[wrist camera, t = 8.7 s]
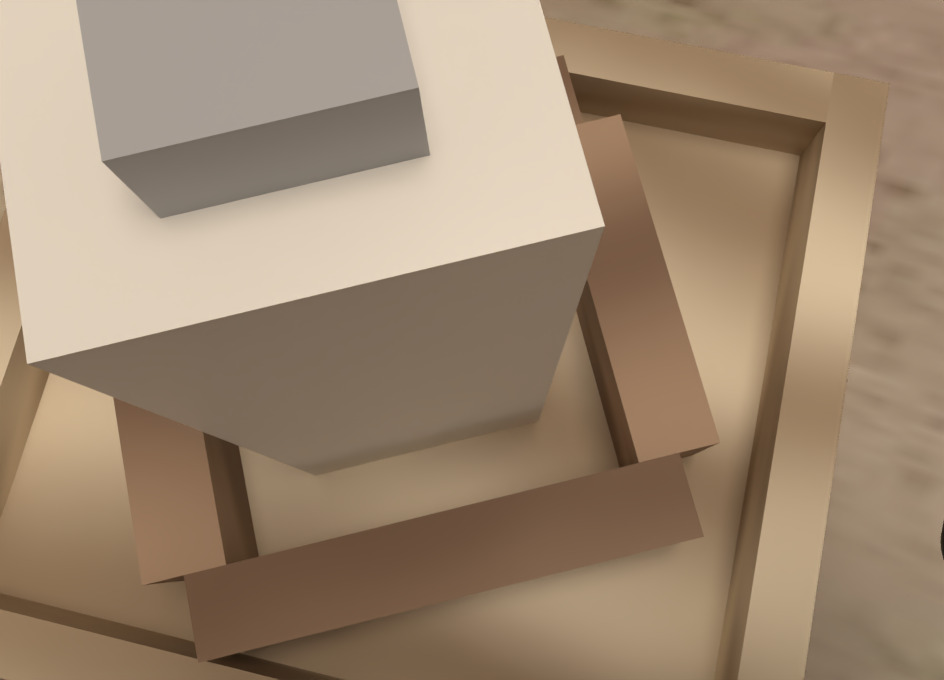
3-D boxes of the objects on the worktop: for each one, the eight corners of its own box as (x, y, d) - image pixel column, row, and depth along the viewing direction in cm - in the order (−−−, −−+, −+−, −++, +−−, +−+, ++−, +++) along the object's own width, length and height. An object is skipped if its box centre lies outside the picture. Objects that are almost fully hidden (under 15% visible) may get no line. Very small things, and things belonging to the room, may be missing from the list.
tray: (738, 834, 19) (788, 894, 16) (-72, 627, 20) (-180, 643, 17) (846, 134, 22) (905, 64, 19) (145, -3, 23) (89, -91, 20)
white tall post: (538, 421, 20) (623, 168, 7) (316, 476, 20) (-59, 331, 6) (494, 252, 21) (491, -272, 7) (281, 304, 21) (-111, -138, 7)
